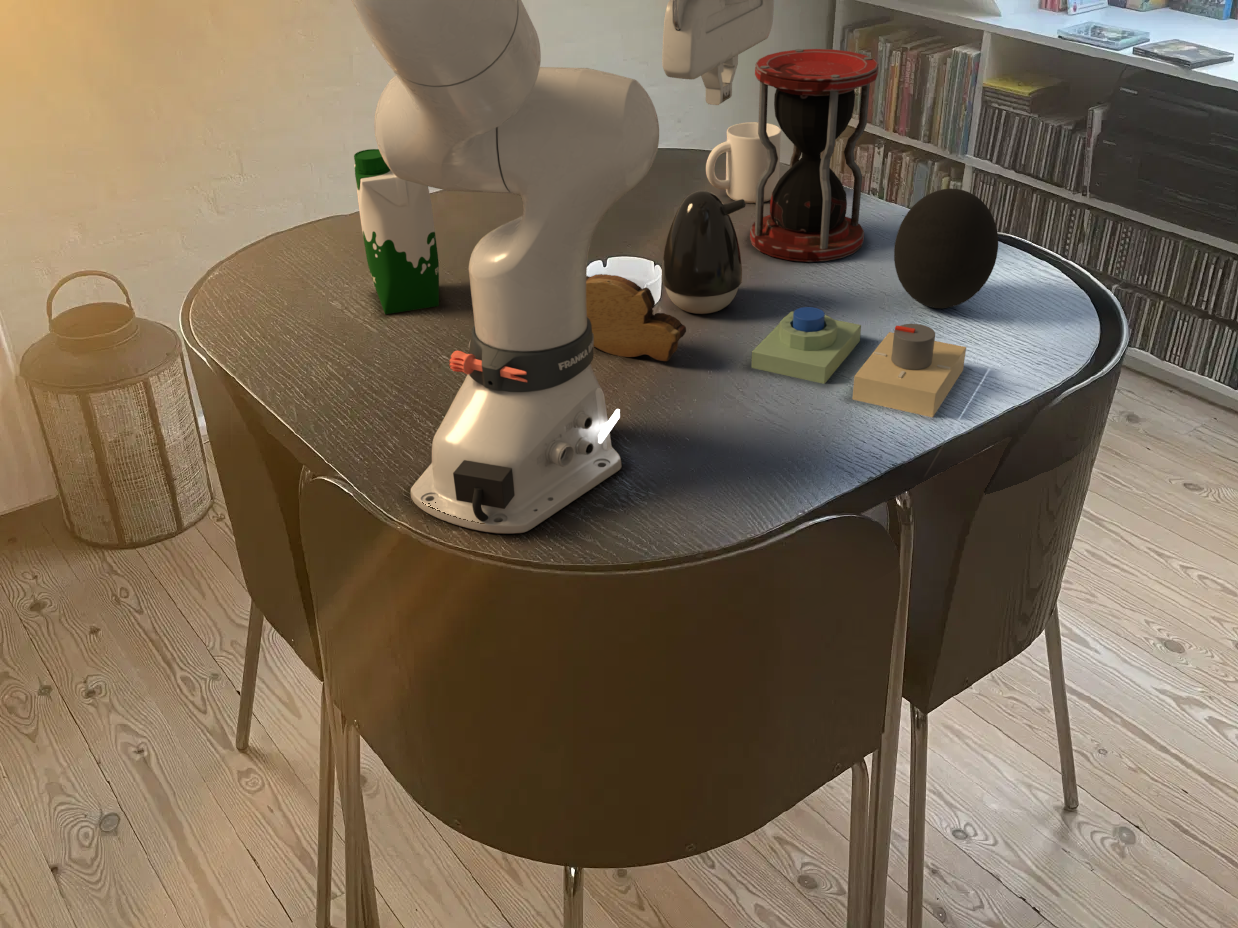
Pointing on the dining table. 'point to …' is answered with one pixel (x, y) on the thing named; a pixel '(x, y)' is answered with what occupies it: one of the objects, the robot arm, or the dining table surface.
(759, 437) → the dining table surface
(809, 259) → the hourglass
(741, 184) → the mug
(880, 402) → the dial panel
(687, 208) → the pump dispenser
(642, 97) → the robot arm
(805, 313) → the button
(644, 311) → the wooden carving
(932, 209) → the decorative egg
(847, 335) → the button housing
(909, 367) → the dial
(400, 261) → the milk carton
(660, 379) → the dining table surface
